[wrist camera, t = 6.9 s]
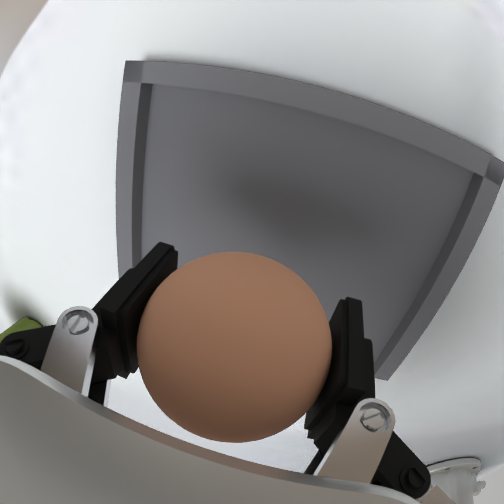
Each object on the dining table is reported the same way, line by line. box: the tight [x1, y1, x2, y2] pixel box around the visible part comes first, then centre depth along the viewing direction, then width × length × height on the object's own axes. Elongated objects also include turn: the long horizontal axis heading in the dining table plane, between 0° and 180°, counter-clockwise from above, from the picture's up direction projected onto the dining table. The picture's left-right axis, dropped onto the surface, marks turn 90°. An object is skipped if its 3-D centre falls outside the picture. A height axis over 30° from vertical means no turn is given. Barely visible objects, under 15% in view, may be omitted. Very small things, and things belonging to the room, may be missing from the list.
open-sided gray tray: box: [116, 61, 504, 381], centre depth 17 cm, size 22×18×2 cm
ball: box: [137, 252, 332, 443], centre depth 9 cm, size 6×6×6 cm
